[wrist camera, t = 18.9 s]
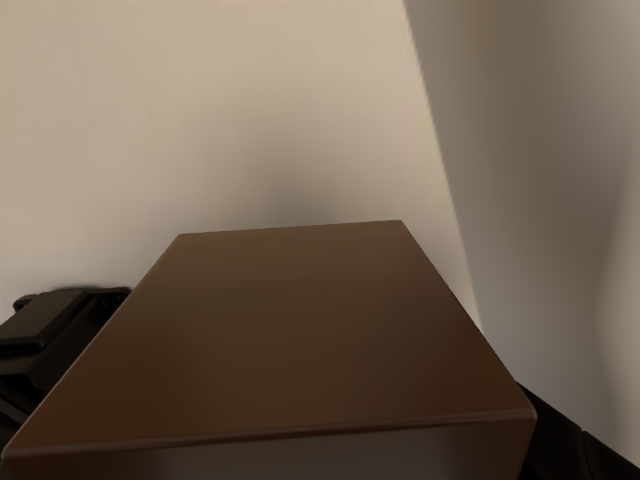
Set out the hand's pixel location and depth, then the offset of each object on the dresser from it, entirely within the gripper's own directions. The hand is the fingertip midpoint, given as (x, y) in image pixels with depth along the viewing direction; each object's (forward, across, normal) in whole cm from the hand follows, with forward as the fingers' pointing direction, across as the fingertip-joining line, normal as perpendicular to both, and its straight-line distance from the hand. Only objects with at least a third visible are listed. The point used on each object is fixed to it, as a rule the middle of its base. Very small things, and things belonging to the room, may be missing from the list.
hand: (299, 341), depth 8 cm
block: (+1, 0, 0) cm, 1 cm away
